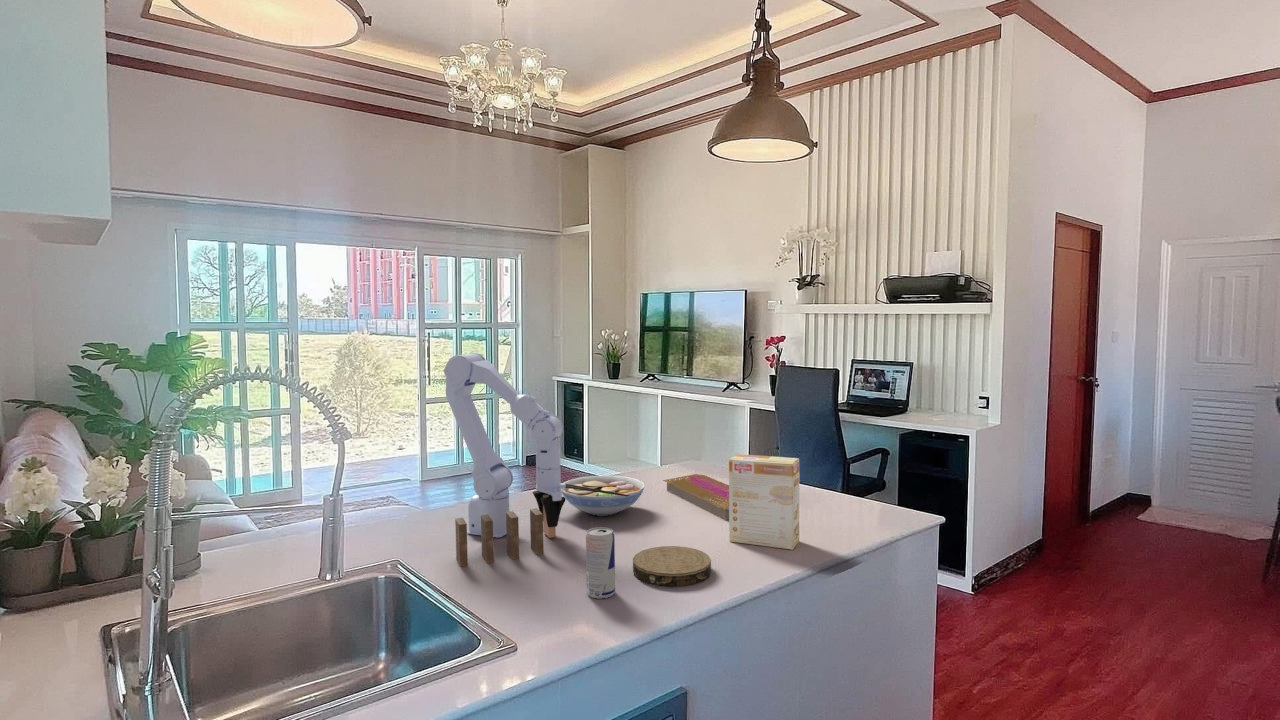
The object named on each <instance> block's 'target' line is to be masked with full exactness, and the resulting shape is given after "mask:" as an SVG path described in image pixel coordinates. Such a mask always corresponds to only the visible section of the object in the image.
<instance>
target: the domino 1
mask: <svg viewBox="0 0 1280 720" xmlns="http://www.w3.org/2000/svg"><path fill="white" fill-rule="evenodd" d="M454 523H455V525H454V526H455V552H456V553H455V556H456V562H457V563H458V565H459V567H467V566H468V565H469V563H468V562H469V561H468V534H467V531H468V523H467V522H466V520H465V519H464V517H457V518H456V517H455V521H454Z"/></svg>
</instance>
